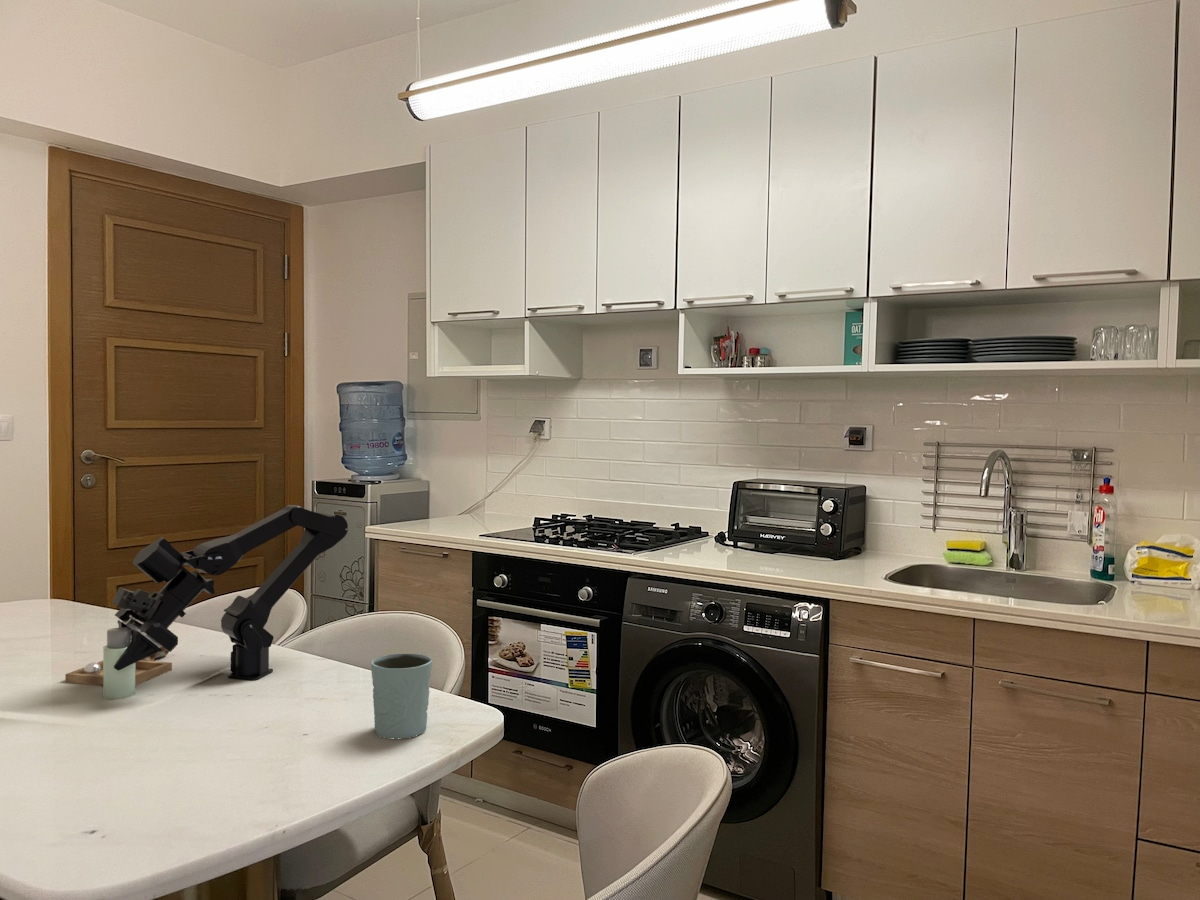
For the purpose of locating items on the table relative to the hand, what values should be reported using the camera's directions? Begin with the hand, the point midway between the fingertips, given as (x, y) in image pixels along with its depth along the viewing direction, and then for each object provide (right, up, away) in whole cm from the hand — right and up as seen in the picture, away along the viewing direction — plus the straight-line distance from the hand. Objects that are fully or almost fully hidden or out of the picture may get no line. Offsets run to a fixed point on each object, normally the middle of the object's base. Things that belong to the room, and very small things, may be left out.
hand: (111, 665), depth 164 cm
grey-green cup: (+55, -8, -11) cm, 57 cm away
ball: (-9, -5, +11) cm, 15 cm away
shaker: (+1, -7, +1) cm, 7 cm away
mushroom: (-6, -6, +25) cm, 26 cm away
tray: (-5, -6, +13) cm, 15 cm away
